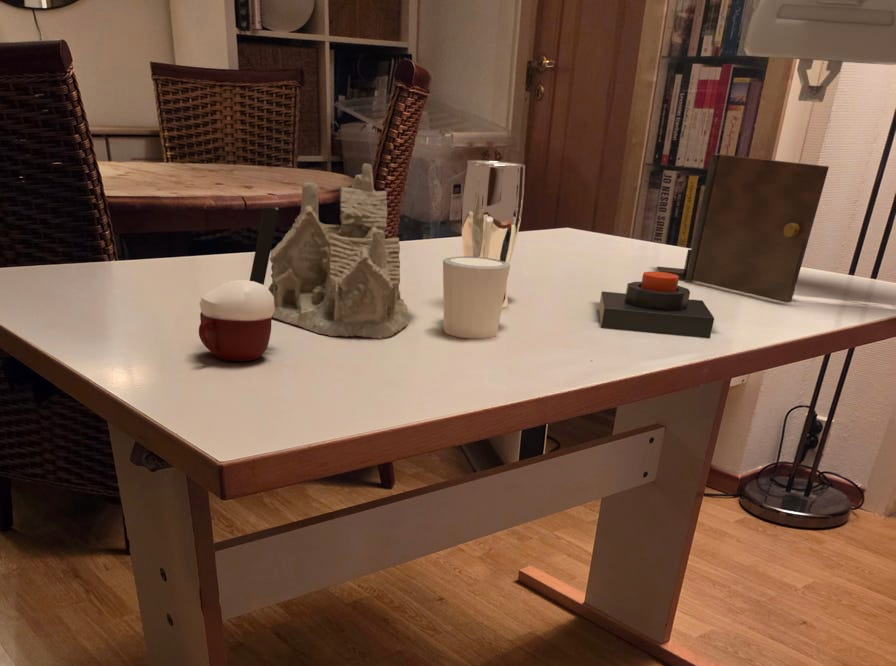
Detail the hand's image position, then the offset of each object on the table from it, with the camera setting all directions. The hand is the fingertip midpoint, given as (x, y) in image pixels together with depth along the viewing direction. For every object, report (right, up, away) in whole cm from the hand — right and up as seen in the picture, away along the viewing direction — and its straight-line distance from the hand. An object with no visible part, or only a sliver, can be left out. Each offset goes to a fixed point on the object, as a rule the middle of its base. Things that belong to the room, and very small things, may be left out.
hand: (810, 101), depth 116 cm
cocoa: (-69, -47, -38) cm, 91 cm away
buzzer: (-26, -36, -16) cm, 47 cm away
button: (-25, -33, -17) cm, 45 cm away
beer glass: (-45, -32, -12) cm, 57 cm away
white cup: (-47, -40, -24) cm, 67 cm away
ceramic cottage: (-62, -38, -23) cm, 76 cm away
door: (-9, -24, +5) cm, 25 cm away
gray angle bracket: (-14, -18, +13) cm, 27 cm away
